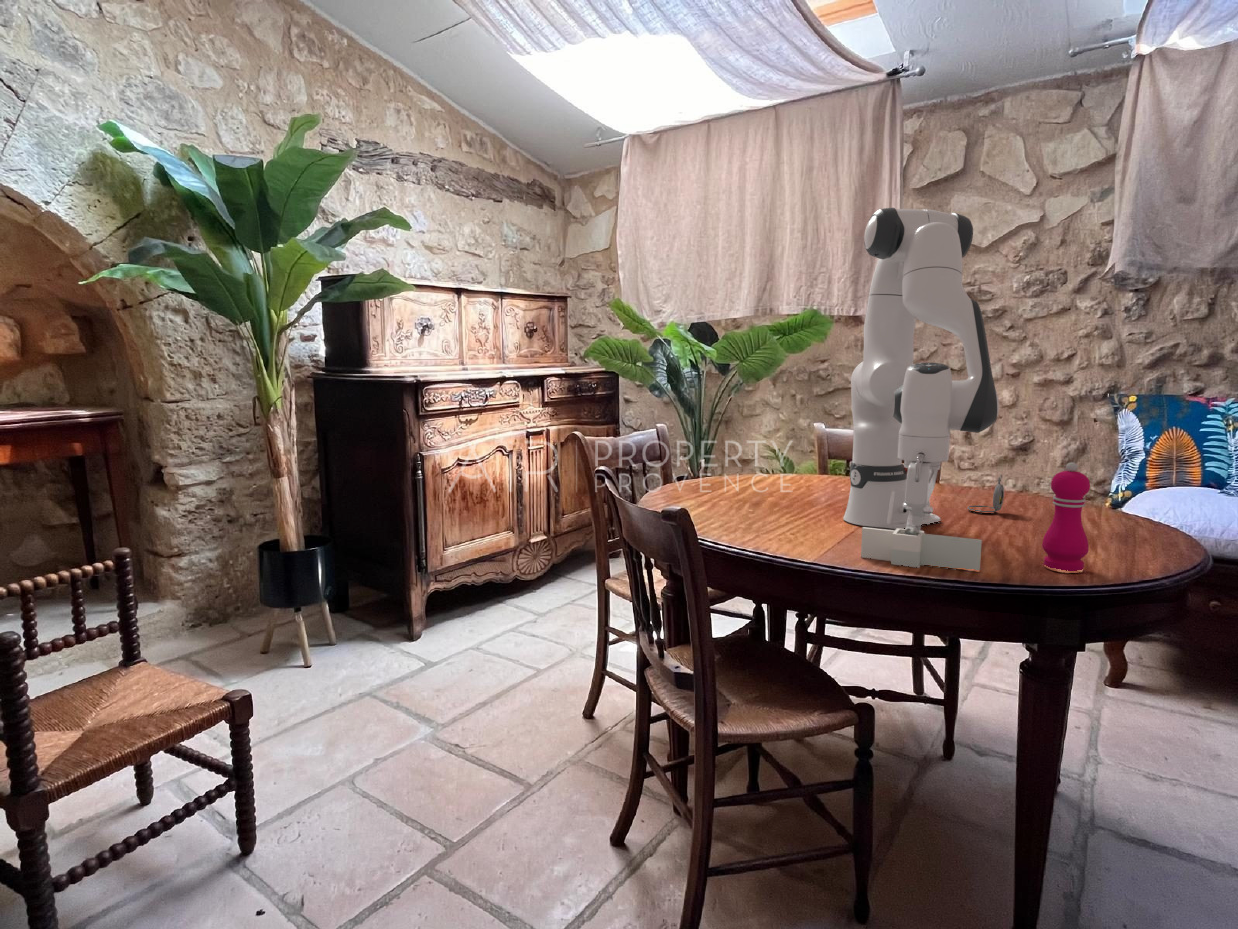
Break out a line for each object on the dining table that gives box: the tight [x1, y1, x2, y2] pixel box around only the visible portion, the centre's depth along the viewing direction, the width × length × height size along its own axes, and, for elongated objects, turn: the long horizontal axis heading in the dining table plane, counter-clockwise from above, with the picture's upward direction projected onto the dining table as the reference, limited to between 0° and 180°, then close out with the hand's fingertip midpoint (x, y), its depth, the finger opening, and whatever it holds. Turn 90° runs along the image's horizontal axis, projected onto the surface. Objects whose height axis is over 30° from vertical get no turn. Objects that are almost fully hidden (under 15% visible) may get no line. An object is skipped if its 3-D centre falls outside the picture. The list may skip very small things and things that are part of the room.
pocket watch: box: [967, 474, 1005, 512], centre depth 175 cm, size 8×8×10 cm
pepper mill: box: [1041, 462, 1091, 571], centre depth 128 cm, size 7×7×20 cm
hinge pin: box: [902, 502, 934, 536], centre depth 133 cm, size 5×5×6 cm
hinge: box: [860, 526, 983, 571], centre depth 133 cm, size 21×5×6 cm, turn 59°
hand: (918, 522), depth 133 cm, fingers closed on hinge pin, 3 cm apart
